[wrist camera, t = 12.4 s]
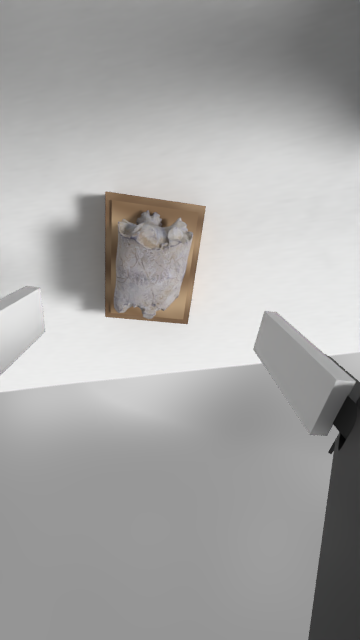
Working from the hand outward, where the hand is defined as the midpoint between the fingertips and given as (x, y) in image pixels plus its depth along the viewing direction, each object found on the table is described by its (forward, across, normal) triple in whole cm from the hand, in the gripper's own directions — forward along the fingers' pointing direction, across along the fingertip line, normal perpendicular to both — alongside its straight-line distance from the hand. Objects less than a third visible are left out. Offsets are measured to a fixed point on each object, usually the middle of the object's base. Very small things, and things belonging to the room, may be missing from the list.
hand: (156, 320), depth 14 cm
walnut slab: (+23, -1, -1) cm, 23 cm away
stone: (+19, -1, 0) cm, 19 cm away
